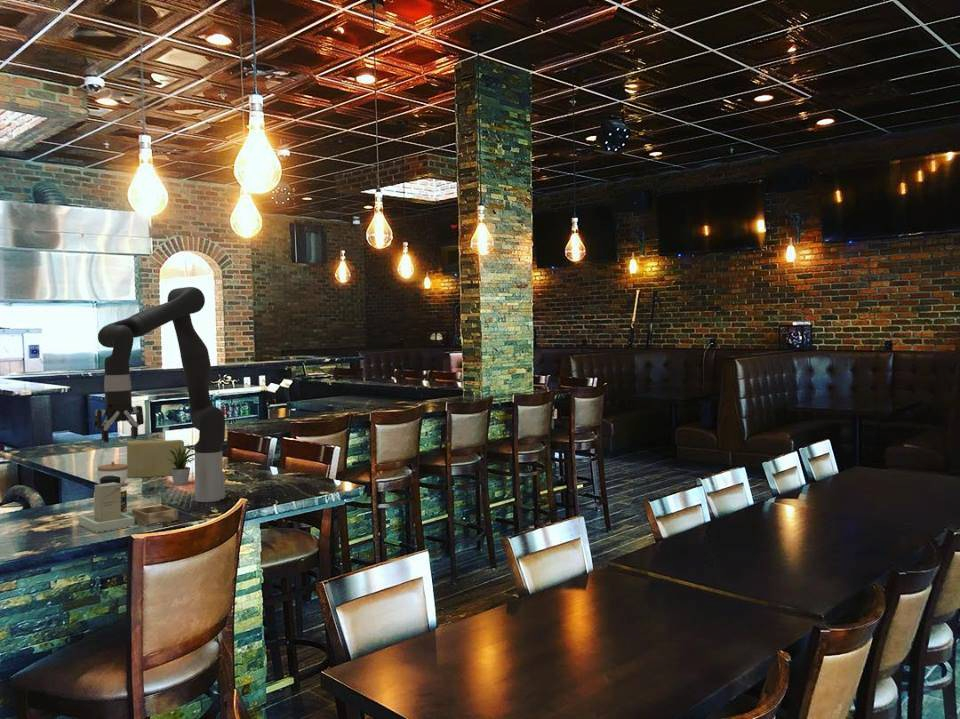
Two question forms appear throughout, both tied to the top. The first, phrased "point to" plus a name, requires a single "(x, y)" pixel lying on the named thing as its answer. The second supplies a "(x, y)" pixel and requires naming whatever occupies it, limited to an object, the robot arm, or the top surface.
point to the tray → (105, 523)
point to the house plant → (180, 465)
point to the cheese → (151, 457)
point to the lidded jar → (114, 471)
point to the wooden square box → (155, 514)
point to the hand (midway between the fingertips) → (120, 440)
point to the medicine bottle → (123, 492)
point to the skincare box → (107, 502)
